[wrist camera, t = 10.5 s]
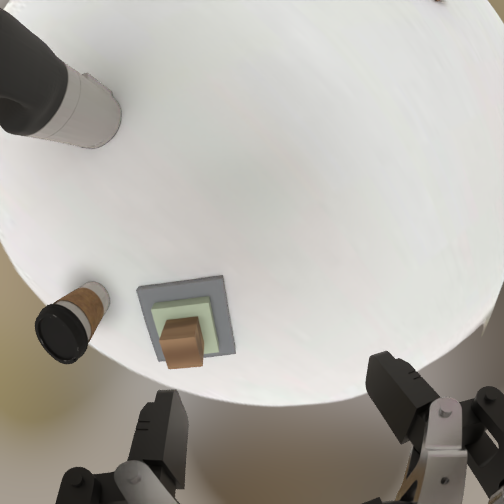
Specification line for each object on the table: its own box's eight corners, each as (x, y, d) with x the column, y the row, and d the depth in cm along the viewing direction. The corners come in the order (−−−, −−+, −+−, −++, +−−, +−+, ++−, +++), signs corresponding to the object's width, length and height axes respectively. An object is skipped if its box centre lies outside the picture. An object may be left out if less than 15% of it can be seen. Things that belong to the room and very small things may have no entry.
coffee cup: (101, 327, 43) (67, 376, 29) (68, 295, 41) (24, 335, 27) (125, 298, 42) (90, 346, 28) (89, 264, 40) (42, 299, 26)
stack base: (138, 286, 42) (131, 296, 38) (222, 275, 43) (222, 284, 39) (160, 356, 46) (156, 369, 42) (235, 348, 47) (236, 362, 43)
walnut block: (166, 319, 40) (158, 340, 34) (197, 316, 40) (194, 336, 34) (174, 346, 41) (168, 369, 35) (204, 343, 41) (202, 366, 36)
